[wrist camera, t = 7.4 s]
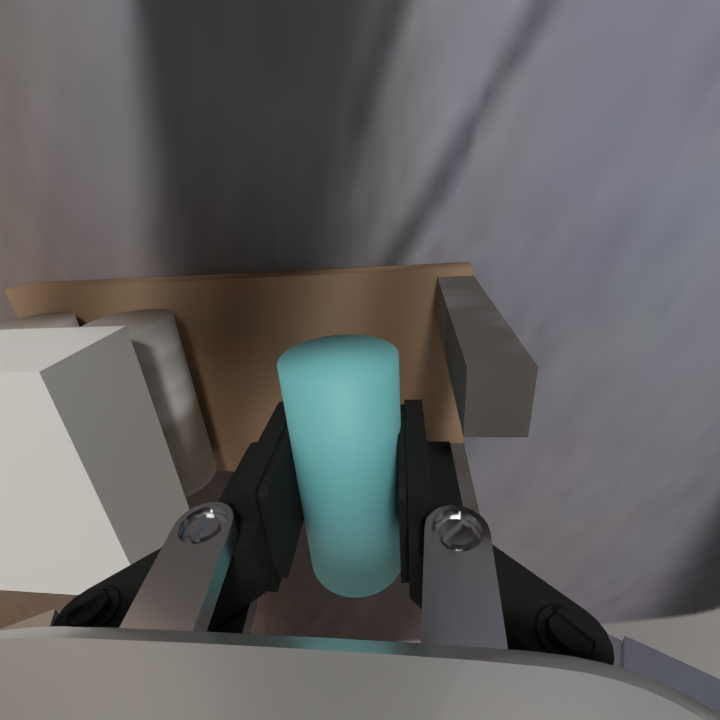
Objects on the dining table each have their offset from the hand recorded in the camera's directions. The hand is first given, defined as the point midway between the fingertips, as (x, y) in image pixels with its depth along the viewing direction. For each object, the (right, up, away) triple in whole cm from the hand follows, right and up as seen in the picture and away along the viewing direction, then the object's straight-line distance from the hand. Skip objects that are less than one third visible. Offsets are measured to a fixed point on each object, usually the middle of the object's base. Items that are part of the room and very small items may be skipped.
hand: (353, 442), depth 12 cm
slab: (-10, 0, +1) cm, 10 cm away
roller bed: (-5, +2, +5) cm, 7 cm away
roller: (0, 0, -1) cm, 1 cm away
